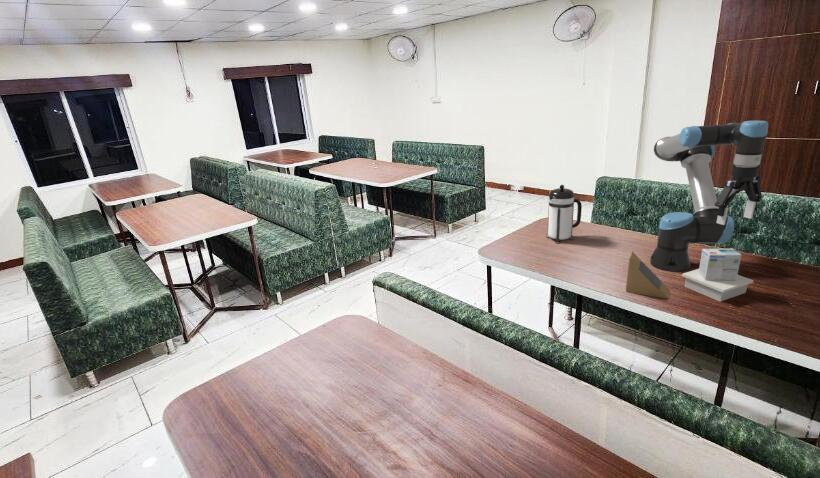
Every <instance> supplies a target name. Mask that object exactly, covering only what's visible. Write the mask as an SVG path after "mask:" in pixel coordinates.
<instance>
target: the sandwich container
mask: <svg viewBox="0 0 820 478" xmlns="http://www.w3.org/2000/svg"><path fill="white" fill-rule="evenodd" d="M625 292H626V293H632V294H637V295H643V296H649V297H650V296H651V297H655V298H663V299H669V300H670V299H671V289H670V288H669V287H668V286H667V285H666V284H665V283H664V282H663V281H662V280H661V279H660V278H659V277H658V276H657V275H656V274H655V273H654V272H653V271H652V269H650V267H648V266H647V265H646V264H645V263H644V262H643V260H641V258H640V257H639V256H637V254H636V253H635V252H634V251H633V250H631V251H630V255H629V259H628V266H627V277H626V287H625Z"/></svg>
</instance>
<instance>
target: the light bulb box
mask: <svg viewBox="0 0 820 478" xmlns="http://www.w3.org/2000/svg"><path fill="white" fill-rule="evenodd" d="M700 256H701V257H700V262H699V267H698V269H699V274H700V275H701V276H702V277H703V278H704V279H705V280H736V279H737V275H739V274H738V273H739V269H740V264H741V259H742V254H741V253H740V252H738V250H736V249H734V248H733V247H731V248H702V249H701V255H700Z"/></svg>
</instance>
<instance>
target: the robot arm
mask: <svg viewBox="0 0 820 478" xmlns="http://www.w3.org/2000/svg"><path fill="white" fill-rule="evenodd" d="M768 130H769V122H768V121H766V120H757V119H756V120H746V121H742V122H730V123H727V124H714V125H698V126H697V125H692V126H686V127H683V128H682V129H681V131H680V133H678V134H676V135H673V136H665V137H662V138H660V139H658V140H657V141H656V142H655V143H654V146H653V153H654V155H655V156H656V157H657V158H658V159H660V160H662V161H665V162H679V163H680V166H681V167H682V168H683V169H685V170H686V175H687V181H688V185H689V191H690V195H691V199H692V204H693V205H692V206H693V210H694V212H693V213H691V212H690V213H689V212H683V211H675V212H674V211H673V212H669V213H666V214H664V215H662V217H660V223H659V225H658V228H659V229H658V234H657V240H656V241H657V244H656V247H655V249H654V251H653V253H652V255H651V256H650V260H649V261H650V262H649V263H650V265H651V266H652V267H654V268H656V269H660V270H663V271H669V272H684V271H687V270H689V269H690V267H691V260H690V259H691V258H690V255H689V245H690V244H706V245H707V244H710V245H712V244H713V245H716V244H718V245H719V244H726V243H728V242H729V241H730V240H731V239H732V236H733V234H734V231H735V221H734V219H733V217H732V216H730V215H728V212H729V208H728V206H729V205H730V203H731V202H732V201H733V200H734V199H735V197H736V196H737V194H739V193H741V192H743V191H744V192H745V195H746V196H747V198H748V200H746V205H745V209H744V212H743V218H747V219H750V220H751V219H753V216H754V214H755V208H756V205H757V203H760V201H761V199H762V198H763V194H762V187H761V183H760V181H761V176H760V175H758V174H759V171H760V167H759V165H760V164H761V160H762V155H763V152H764V147H765V144H766V139H767V135H768V133H769V132H768ZM733 145H734V146H736V149H735V152H734V158H733V166H732V168H731V173H730V175H731V176H732V177H733V178H732V180H728V179H727V180H725V183H724V186H723V189H722V190H721V192H720V194H719V195H718V197H717V194H716V191H715V187H714V186H715V185H714V182H713V181H714V180H713V178H712V173H711V169H710V164H709V163H710V162H712V158H714V156H715V154H716V153H715V152H716V150H715V149H716V146H733Z"/></svg>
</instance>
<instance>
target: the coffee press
mask: <svg viewBox="0 0 820 478" xmlns="http://www.w3.org/2000/svg"><path fill="white" fill-rule="evenodd" d="M575 196H576V194H575V193H574V191H573V190H572V189H569V188H565V185H564V184H560V185H559V188H555V189H552V190H550V192H549V194H548V200H547V202H548V213H547V215H548V216H547V234H545V236H547V235H548V236H549V238H551V239H555V243H556V242H559V243H560V240H567V239H570V240H571V239H575V237H574V235H573V229H575V228H577V227H578V226H579V225H580V223H581V220H582V208H583V206H582V202H581V200H579V199H577V198H575ZM575 203H576V205H577V211H576V212H577V214H576V221H575V222H574V212H575V211H574V208H575ZM573 222H574V223H573Z"/></svg>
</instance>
